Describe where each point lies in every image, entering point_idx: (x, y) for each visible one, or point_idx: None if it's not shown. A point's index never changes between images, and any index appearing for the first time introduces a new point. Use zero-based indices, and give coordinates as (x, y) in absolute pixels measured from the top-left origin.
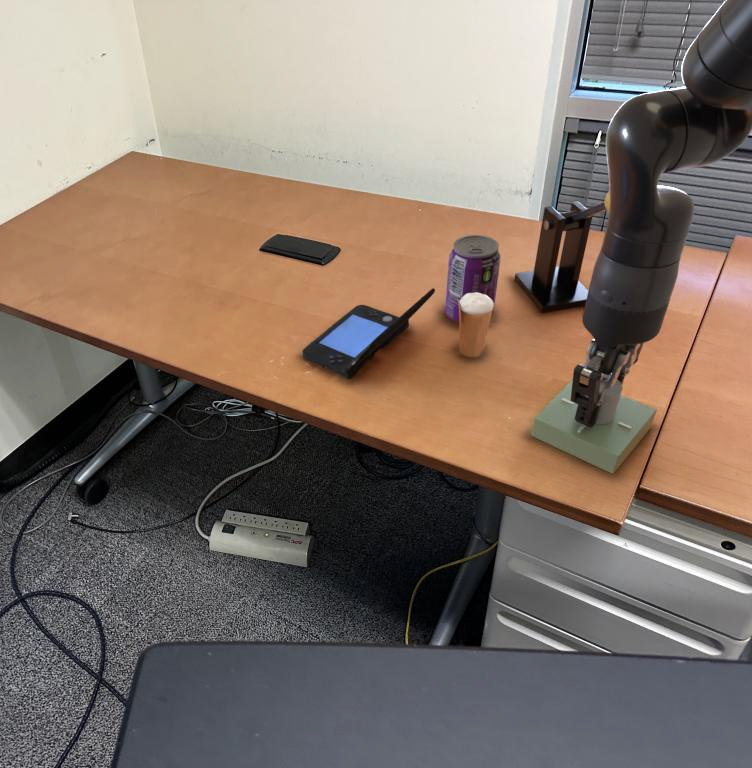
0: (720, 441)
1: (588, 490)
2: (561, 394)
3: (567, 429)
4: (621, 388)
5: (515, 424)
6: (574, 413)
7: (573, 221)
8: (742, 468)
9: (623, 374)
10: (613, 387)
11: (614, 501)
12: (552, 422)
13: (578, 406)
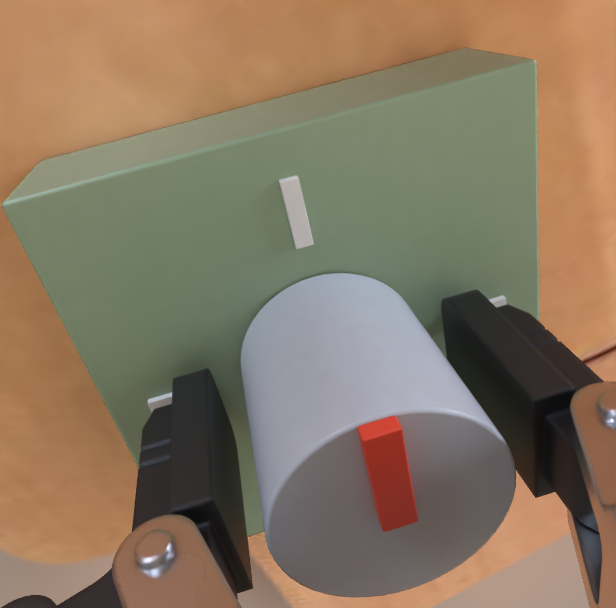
0: (559, 499)
1: (46, 489)
2: (324, 139)
3: (113, 369)
4: (441, 573)
5: (19, 32)
6: (247, 299)
7: None
8: (492, 573)
9: (569, 519)
10: (416, 551)
11: (92, 545)
12: (79, 290)
13: (171, 451)
